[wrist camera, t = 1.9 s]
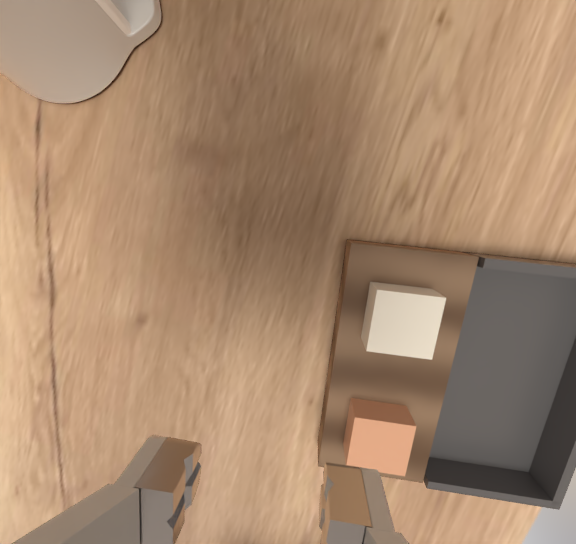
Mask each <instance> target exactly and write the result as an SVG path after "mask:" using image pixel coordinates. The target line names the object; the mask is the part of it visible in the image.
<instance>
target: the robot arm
mask: <svg viewBox="0 0 576 544" xmlns="http://www.w3.org/2000/svg"><path fill="white" fill-rule="evenodd" d="M160 22H161V8H160V2H159V0H0V73H1V74H2V75H4V76H5V77H6V78H8V79H9V80H10V81H12V82H13V83H14V84H15V85H16V86H18V87H19V88H20V89H22V90H23V91H25V92H26V93H28V94H30V95H32V96H34V97H36V98H39V99H41V100H45V101H48V102H53V103H75V102H79V101H83V100H86V99H88V98H90V97H92V96H94V95H96V94H98V93H99V92H101V91H102V90H103V89H105V88H106V87H107V86H108V85H109V84H110V83H111V82H112V81H113V80H114V78H115V77H116V76H117V75H118V73H119V72H120V70H121V68H122V67H123V65H124V63H125V61H126V60H127V58H128V56H129V54H130V53H131V51H132V50H133V49H134V48H135V47H136V46H137V45H139V44H140V43H141V42H143V41H144V40H146V39H147V38H148V37H149V36H151V35H152V34H153V33H154V32H155V31H156V30H157V28H158V27H159V25H160ZM200 456H201V444H200V443H198V442H192V441H187V440H181V439H176V438H171V437H163V436H158V435H152V436H150V437H149V438H148V439H147V440H146V441H145V443H144V444H143V445H142V447H141V448H140V450H139V451H138V452H137V454H136V455H135V456H134V458H133V459H132V460H131V462H130V463H129V465H128V466H127V467H126V469H125V470H124V471H123V473H122V474H121V475H120V477H119V478H118V479H117V481H116V482H115V484H107V485H106V486H104V487H102V488H101V489H99V490H98V491H96V492H94V493H93V494H91V495H90V496H88V497H86V498H85V499H83V500H81V501H80V502H78V503H77V504H75V505H73V506H72V507H70V508H68V509H67V510H65V511H64V512H62V513H60V514H59V515H57V516H56V517H54V518H52V519H51V520H49V521H47V522H46V523H44V524H43V525H41V526H39V527H38V528H36V529H34V530H33V531H31V532H30V533H28V534H26V535H25V536H23V537H21V538H20V539H18V540H17V541H15V542H13V543H12V544H175V543H176V541H177V538H178V536H179V533H180V531H181V529H182V526H183V524H184V519H185V510H186V509H187V508H188V507H189V506H190V505H192V502H193V500H194V497H195V495H196V491H197V488H198V484H199V480H200V474H201V465H200V464H199V462H198V460H199V458H200ZM323 478H324V484H322V485H321V493H320V504H319V527H320V528H321V530H322V533H321V540H320V544H409V543H408V541H407V540H406V539H405V538H404V536H403V535H402V534H401V533H397V532H395V530H394V526H393V522H392V518H391V515H390V511H389V507H388V503H387V499H386V496H385V492H384V488H383V484H382V480H381V477H380V473H379V472H378V470H376V469H369V468H362V467H360V468H359V467H356V466H349V465H342V464H335V463H328V462H326V463H325V466H324V472H323Z"/></svg>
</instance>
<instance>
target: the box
mask: <svg viewBox="0 0 576 544" xmlns="http://www.w3.org/2000/svg"><path fill="white" fill-rule="evenodd" d="M463 253H467V254H471V255H474V256H478V257H479V259H478V263H477V267H476V271H475V275H474V279H473V283H472V287H471V291H470V295H469V299H468V303H467V307H466V311H465V315H464V319H463V323H462V327H461V331H460V335H459V339H458V343H457V347H456V351H455V355H454V359H453V363H452V367H451V371H450V375H449V379H448V383H447V387H446V391H445V395H444V399H443V403H442V407H441V411H440V415H439V419H438V423H437V427H436V431H435V435H434V439H433V443H432V447H431V451H430V455H429V459H428V463H427V467H426V471H425V475H424V479H423V480H424V483H425V485H426V488H428V489H434V490H440V491H447V492H453V493H459V494H465V495H472V496H478V497H484V498H490V499H497V500H503V501H509V502H515V503H521V504H528V505H534V506H540V507H546V508H553V509H560V506H561V504H562V501H563V499H564V496H565V493H566V491H567V488H568V486H569V483H570V481H571V478H572V476H573V473H574V470H575V468H576V264H571V263H562V262H552V261H543V260H534V259H524V258H515V257H506V256H496V255H487V254H477V253H468V252H463Z"/></svg>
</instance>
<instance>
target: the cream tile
mask: <svg viewBox="0 0 576 544" xmlns="http://www.w3.org/2000/svg"><path fill="white" fill-rule="evenodd" d="M445 302H446V297H444V296H443V295H441V294H439V293H438V292H436V291H435V290H433V289H430V288H421V287H412V286H404V285H395V284H386V283H378V282H370V286H369V292H368V298H367V304H366V310H365V316H364V322H363V328H362V334H361V339H362V341H363V344H364V346H365V349H366V351H369V352H376V353H384V354H391V355H399V356H407V357H414V358H422V359H429V360H432V358H433V354H434V349H435V345H436V341H437V336H438V332H439V328H440V323H441V319H442V315H443V310H444V306H445Z"/></svg>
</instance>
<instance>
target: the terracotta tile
mask: <svg viewBox="0 0 576 544" xmlns="http://www.w3.org/2000/svg"><path fill="white" fill-rule="evenodd" d="M416 427H417V426H416V424H415V422H414V420H413V418H412V416H411V414H410V412H409V410H408V408H407V406H405V405H398V404H391V403H384V402H377V401H370V400H363V399H356V398H351V399H350V405H349V411H348V417H347V423H346V429H345V435H344V441H343V447H344V455H345V462H346V465H349V466H356V467H359V468H360V467H362V468H369V469H376V470H378V472H380V473H387V474H393V475H399V476H405V474H406V470H407V466H408V461H409V457H410V453H411V448H412V444H413V440H414V435H415V431H416Z"/></svg>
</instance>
